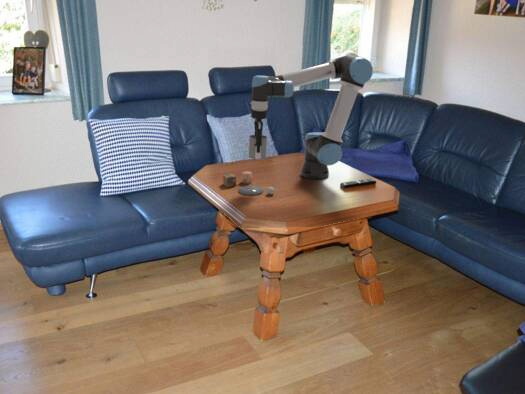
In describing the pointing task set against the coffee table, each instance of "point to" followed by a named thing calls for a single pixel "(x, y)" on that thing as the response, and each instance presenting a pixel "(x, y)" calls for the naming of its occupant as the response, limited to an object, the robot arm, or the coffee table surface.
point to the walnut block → (229, 180)
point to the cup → (252, 148)
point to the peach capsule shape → (246, 177)
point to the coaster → (251, 190)
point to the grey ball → (270, 190)
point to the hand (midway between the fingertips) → (257, 156)
